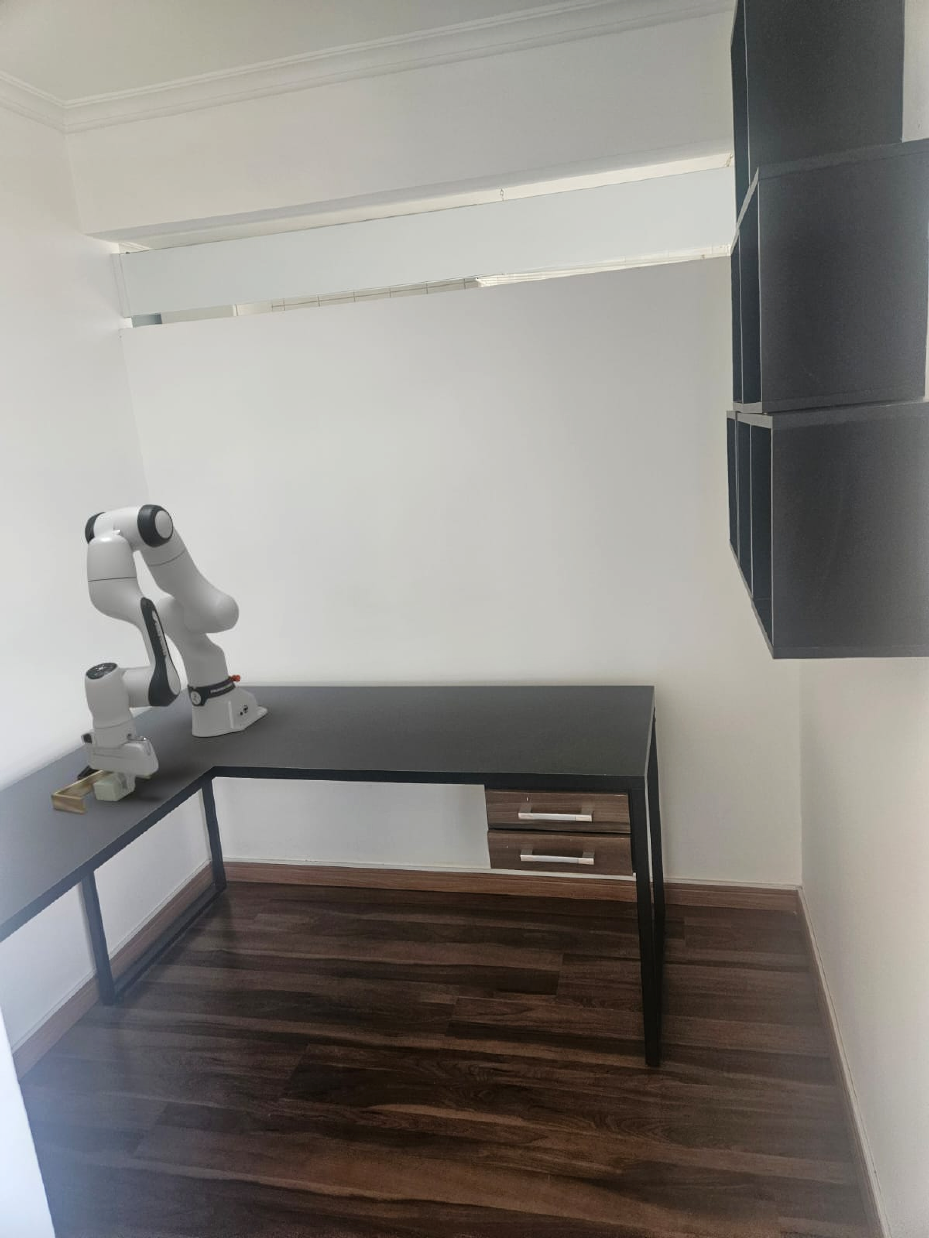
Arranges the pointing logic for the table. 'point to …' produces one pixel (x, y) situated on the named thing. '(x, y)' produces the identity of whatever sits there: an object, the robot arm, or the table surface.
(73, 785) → the wooden u-shaped bracket
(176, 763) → the table surface
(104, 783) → the sage block
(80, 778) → the phone
